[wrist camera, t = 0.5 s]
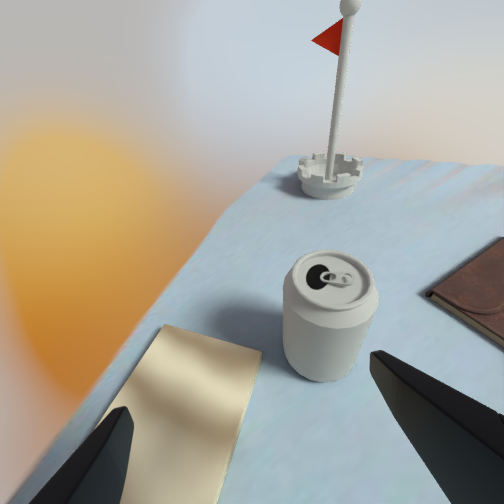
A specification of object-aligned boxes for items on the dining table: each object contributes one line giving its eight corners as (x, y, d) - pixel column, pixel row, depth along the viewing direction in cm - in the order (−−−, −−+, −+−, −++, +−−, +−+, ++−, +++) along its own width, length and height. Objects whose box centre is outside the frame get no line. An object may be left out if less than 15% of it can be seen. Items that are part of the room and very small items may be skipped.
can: (293, 312, 31) (297, 236, 23) (357, 331, 28) (386, 253, 20) (273, 369, 26) (269, 296, 18) (348, 398, 23) (382, 329, 15)
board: (168, 330, 30) (164, 323, 29) (262, 358, 27) (261, 351, 26) (75, 476, 21) (64, 473, 20) (203, 548, 17) (198, 549, 16)
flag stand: (356, 174, 58) (394, -13, 38) (362, 203, 48) (417, -26, 29) (299, 173, 60) (307, -2, 41) (294, 201, 51) (301, -10, 31)
